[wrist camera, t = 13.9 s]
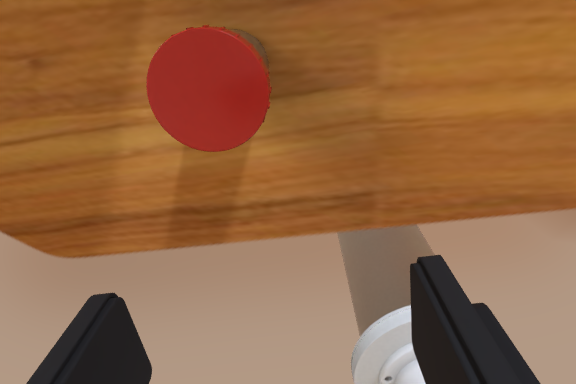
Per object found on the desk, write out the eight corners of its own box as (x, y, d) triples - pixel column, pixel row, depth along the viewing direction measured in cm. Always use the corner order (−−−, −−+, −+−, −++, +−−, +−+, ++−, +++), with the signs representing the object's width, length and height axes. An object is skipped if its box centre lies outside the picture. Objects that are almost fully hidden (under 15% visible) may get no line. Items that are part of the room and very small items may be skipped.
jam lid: (144, 118, 23) (133, 127, 21) (172, 4, 20) (162, 3, 19) (248, 157, 24) (245, 169, 22) (288, 54, 21) (288, 58, 20)
